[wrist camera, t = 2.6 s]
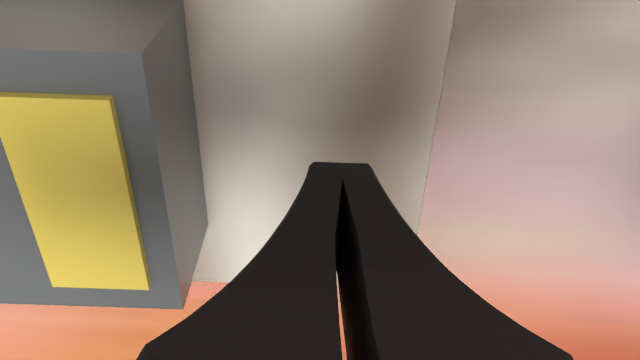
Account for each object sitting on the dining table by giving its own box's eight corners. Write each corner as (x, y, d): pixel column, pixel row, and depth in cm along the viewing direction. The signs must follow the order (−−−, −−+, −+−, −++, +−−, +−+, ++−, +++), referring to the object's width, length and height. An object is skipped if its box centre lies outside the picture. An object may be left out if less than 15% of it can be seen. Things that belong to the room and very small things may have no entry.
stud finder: (182, -1, 13) (137, 57, 10) (208, 224, 17) (180, 315, 14) (-24, -8, 13) (-132, 48, 10) (49, 219, 17) (-13, 309, 14)
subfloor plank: (463, -114, 13) (474, -107, 12) (404, 264, 20) (407, 288, 19) (-563, -149, 13) (-637, -145, 12) (-265, 241, 19) (-297, 265, 18)
